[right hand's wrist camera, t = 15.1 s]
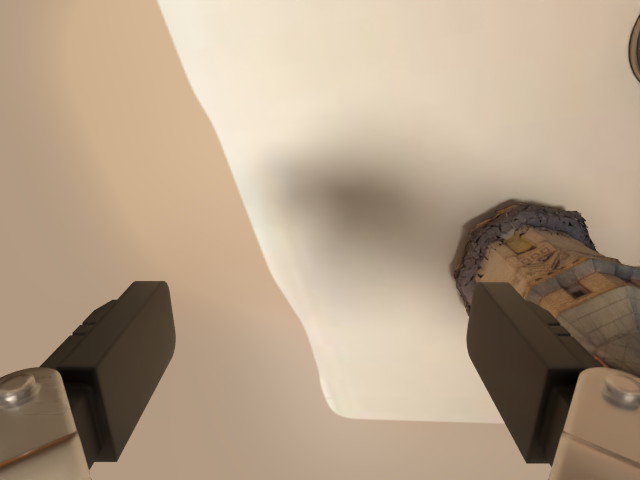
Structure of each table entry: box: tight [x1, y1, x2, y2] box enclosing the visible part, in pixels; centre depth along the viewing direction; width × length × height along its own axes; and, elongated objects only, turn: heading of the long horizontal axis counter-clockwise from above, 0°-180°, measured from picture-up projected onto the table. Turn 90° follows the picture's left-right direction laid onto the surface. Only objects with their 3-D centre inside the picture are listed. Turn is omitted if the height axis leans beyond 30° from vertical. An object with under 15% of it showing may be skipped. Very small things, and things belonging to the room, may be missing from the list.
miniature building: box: [454, 203, 640, 378], centre depth 31 cm, size 13×14×30 cm
